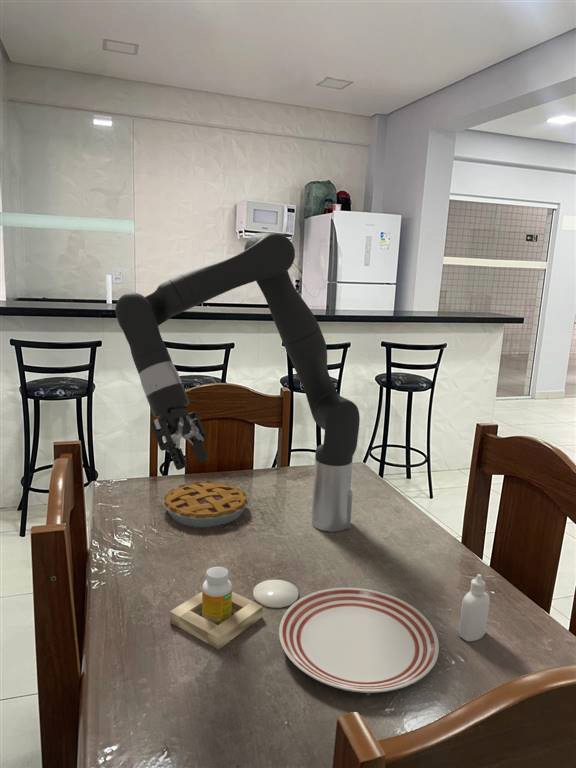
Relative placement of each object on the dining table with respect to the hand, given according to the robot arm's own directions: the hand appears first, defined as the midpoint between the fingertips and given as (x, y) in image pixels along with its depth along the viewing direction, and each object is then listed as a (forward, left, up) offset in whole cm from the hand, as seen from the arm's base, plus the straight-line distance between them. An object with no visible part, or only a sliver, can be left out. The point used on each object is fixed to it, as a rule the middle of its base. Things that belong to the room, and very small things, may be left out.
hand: (193, 464), depth 116 cm
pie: (-3, -33, -26) cm, 42 cm away
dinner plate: (-28, +24, -26) cm, 45 cm away
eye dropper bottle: (-50, +23, -25) cm, 61 cm away
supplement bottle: (-4, +14, -25) cm, 29 cm away
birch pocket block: (-4, +14, -25) cm, 29 cm away
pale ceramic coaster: (-16, +7, -25) cm, 31 cm away
